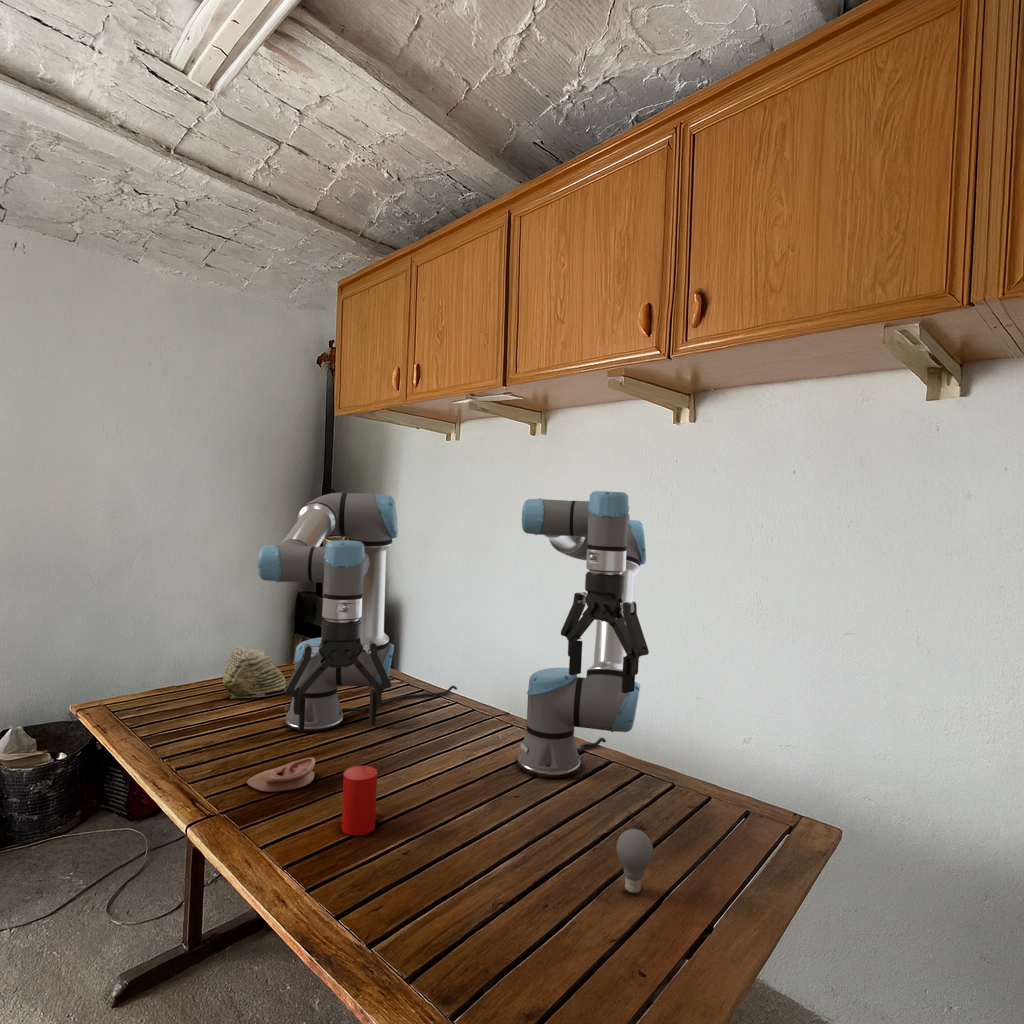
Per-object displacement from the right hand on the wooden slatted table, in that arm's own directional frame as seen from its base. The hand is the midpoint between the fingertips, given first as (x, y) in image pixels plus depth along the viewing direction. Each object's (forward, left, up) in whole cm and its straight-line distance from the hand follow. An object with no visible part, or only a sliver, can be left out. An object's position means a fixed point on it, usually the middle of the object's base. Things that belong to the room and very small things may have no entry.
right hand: (600, 682), depth 121 cm
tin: (+34, -29, -30) cm, 54 cm away
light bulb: (+7, +15, -30) cm, 35 cm away
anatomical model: (+40, -57, -30) cm, 75 cm away
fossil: (+25, -120, -30) cm, 126 cm away
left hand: (+37, -35, -12) cm, 52 cm away
